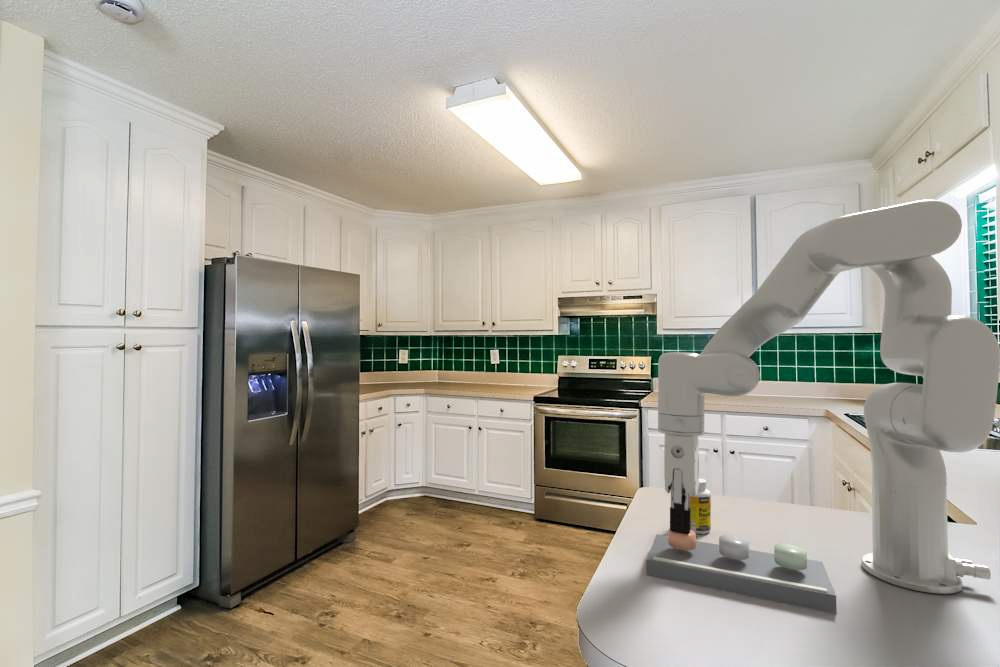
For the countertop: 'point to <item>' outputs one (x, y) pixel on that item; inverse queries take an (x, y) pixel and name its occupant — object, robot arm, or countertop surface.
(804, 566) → the sage button
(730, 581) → the button panel
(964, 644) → the countertop surface
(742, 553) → the grey button
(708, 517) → the supplement bottle
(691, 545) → the terracotta button
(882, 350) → the robot arm
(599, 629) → the countertop surface
